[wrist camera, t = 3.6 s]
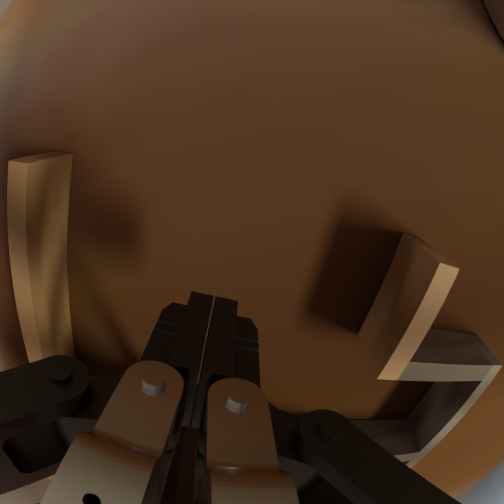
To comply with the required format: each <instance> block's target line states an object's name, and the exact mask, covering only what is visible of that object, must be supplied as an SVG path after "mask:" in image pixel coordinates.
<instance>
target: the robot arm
mask: <svg viewBox="0 0 504 504" xmlns="http://www.w3.org/2000/svg"><path fill="white" fill-rule="evenodd" d="M483 1H484V4H485V6H486V8H487V10H488V13H489V15H490V17H491V19H492V21H493V23H494V25H495V26H496V28H497V30H498V32H499V34H500V35H501V37H502V39H503V40H504V0H483ZM213 297H214V296H212V295H207V294H203V293H198V292H194V291H192V292H191V295H190V298H189V301H188V304H187V305H182V304H178V303H174V302H173V303H171V304H170V305H168V306H167V307H165V308H164V309H163V310H162V312H161V314H160V316H159V318H158V321H157V323H156V325H155V327H154V330H153V332H152V334H151V337H150V339H149V341H148V343H147V346H146V348H145V350H144V353H143V355H142V357H141V360H140V362H138V363H135V364H133V365H132V366H130V367H129V368H128V369H127V370H126V372H125V373H124V374H122V375H118V376H98V375H89V372H88V369H87V368H86V366H85V365H84V364H83V363H82V362H81V361H79V360H78V359H76V358H74V357H71V356H67V355H54V356H50V357H47V358H44V359H41V360H37V361H34V362H31V363H28V364H25V365H22V366H19V367H15V368H12V369H9V370H6V371H2V372H0V495H1V494H4V493H7V492H9V491H12V490H15V489H18V488H20V487H23V486H26V485H29V484H31V483H34V482H36V481H39V480H41V479H44V478H46V477H49V476H51V475H53V474H55V475H54V477H53V479H52V481H51V483H50V485H49V487H48V489H47V491H46V493H45V495H44V497H43V499H42V501H41V503H39V504H160V501H161V497H162V493H163V490H164V486H165V483H166V479H167V476H168V472H169V469H170V465H171V462H172V459H173V455H174V452H175V448H176V445H177V443H178V441H179V437H180V432H181V427H182V426H187V427H189V424H190V418H191V412H192V407H193V401H194V396H195V390H196V385H197V380H198V374H199V369H200V364H201V358H202V353H203V348H204V343H205V337H206V332H207V327H208V322H209V317H210V312H211V307H212V302H213ZM237 305H238V301H236V300H231V299H226V298H222V297H217V296H216V297H215V302H214V306H213V311H212V316H211V321H210V326H209V331H208V336H207V341H206V346H205V351H204V357H203V362H202V368H201V373H200V379H199V385H198V391H197V396H196V402H195V408H194V414H193V420H192V426H191V427H193V428H198V429H199V431H198V438H197V444H196V448H195V460H194V499H193V504H461V503H460V502H458V501H457V500H455V499H454V498H452V497H451V496H449V495H448V494H446V493H445V492H443V491H442V490H440V489H439V488H437V487H436V486H434V485H433V484H432V483H430V482H429V481H427V480H426V479H425V478H423V477H422V476H420V475H419V474H418V473H416V472H415V471H413V470H412V469H411V468H409V467H408V466H407V465H405V464H404V463H402V462H401V461H400V460H398V459H397V458H396V457H394V456H393V455H392V454H391V453H389V452H388V451H387V450H385V449H384V448H383V447H381V446H380V445H379V444H377V443H376V442H375V441H374V440H372V439H371V438H370V437H369V436H367V435H366V434H365V433H364V432H362V431H361V430H360V429H359V428H357V427H356V426H355V425H354V424H352V423H351V422H350V421H349V420H347V419H346V418H345V417H343V416H342V415H340V414H338V413H336V412H334V411H330V410H314V411H311V412H309V413H307V414H306V415H305V416H304V417H303V418H301V417H298V416H295V415H292V414H289V413H287V412H284V411H282V410H279V409H278V408H276V407H274V406H273V405H272V404H270V403H269V402H268V400H267V397H266V395H265V393H264V392H263V391H262V390H261V387H260V370H259V352H258V349H259V348H258V329H257V328H256V326H255V325H254V323H253V321H252V320H251V319H249V318H244V317H239V316H237Z"/></svg>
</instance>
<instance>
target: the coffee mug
mask: <svg viewBox="0 0 504 504" xmlns="http://www.w3.org/2000/svg"><path fill="white" fill-rule="evenodd" d="M197 391H198V384H197V385H196V390H195V396H194V401H193V407H192V412H191V418H190V424H189V427H187V426H182V427H181V432H180V437H179V441H178V443H177V445H176V448H175V452H174V455H173V459H172V462H171V465H170V469H169V472H168V476H167V479H166V483H165V486H164V490H163V493H162V497H161V501H160V504H193V499H194V460H195V448H196V444H197V438H198V431H199V429H198V428H193V427H191V426H192V420H193V414H194V408H195V402H196V396H197Z"/></svg>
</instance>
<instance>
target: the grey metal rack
mask: <svg viewBox="0 0 504 504" xmlns="http://www.w3.org/2000/svg"><path fill="white" fill-rule="evenodd" d="M73 155H74V153H68V152H61V151H51V152H45V153H40V154H36V155H31V156H26V157H22V158H17V159H13V160H9V162H8V181H7V224H8V243H9V255H10V265H11V274H12V281H13V288H14V295H15V301H16V306H17V312H18V317H19V322H20V326H21V331H22V335H23V339H24V343H25V347H26V351H27V355H28V359H29V362H30V363H31V362H34V361H37V360H41V359H44V358H47V357H50V356H54V355H67V356H71V357H74V358H76V357H75V351H74V343H73V335H72V327H71V317H70V305H69V290H68V264H67V234H68V208H69V193H70V181H71V171H72V163H73ZM458 271H459V268H458V267H457V266H455V265H454V264H453V263H452V262H450V261H449V260H448V259H447V258H445V257H444V256H443V255H441V254H440V253H439V252H438V251H436V250H435V249H434V248H432V247H431V246H430V245H428V244H427V243H426V242H424V241H423V240H422V239H419V238H416V237H413V236H410V235H407V234H404V233H403V235H402V237H401V240H400V242H399V245H398V247H397V250H396V252H395V255H394V257H393V260H392V262H391V265H390V267H389V269H388V272H387V274H386V276H385V278H384V281H383V283H382V285H381V287H380V290H379V292H378V294H377V296H376V298H375V300H374V303H373V305H372V307H371V309H370V311H369V313H368V315H367V317H366V319H365V321H364V323H363V325H362V327H361V329H360V331H359V333H358V337H359V339H360V341H361V344H362V346H363V348H364V350H365V352H366V355H367V357H368V359H369V361H370V364H371V366H372V368H373V371H374V373H375V375H376V378H377V379H385V380H404V381H435V382H434V384H433V385H432V386H431V388H430V389H429V390H428V392H427V393H426V394H425V396H424V397H423V398H422V400H421V401H420V402H419V403H418V405H417V406H416V407H415V408H414V410H413V411H412V412H411V413H410V414H409V416H408V417H407V418H406V419H392V420H352V419H347V420H349V421H350V422H351V423H352V424H354V425H355V426H356V427H357V428H359V429H360V430H361V431H362V432H364V433H365V434H366V435H367V436H369V437H370V438H371V439H372V440H374V441H375V442H376V443H377V444H379V445H380V446H381V447H383V448H384V449H385V450H387V451H388V452H389V453H391V454H392V455H393V456H394V457H396V458H397V459H398V460H400V461H401V462H402V463H404V464H405V465H407V466H408V467H409V468H412V467H413V466H414V465H415V464H416V463H418V462H419V461H420V460H421V459H422V458H423V457H424V456H425V455H426V454H427V453H428V452H429V451H430V450H431V449H433V448H434V447H435V446H436V445H437V444H438V443H439V442H440V441H441V440H442V439H443V438H444V437H445V435H446V434H447V433H448V432H449V431H450V430H451V429H452V428H453V427H454V426H455V425H456V424H457V423H458V421H459V420H460V419H461V418H462V417H463V416H464V415H465V414H466V412H467V411H468V410H469V409H470V408H471V406H472V405H473V404H474V403H475V402H476V400H477V399H478V398H479V397H480V395H481V394H482V393H483V392H484V390H485V389H486V388H487V386H488V385H489V384H490V382H491V381H492V380H493V378H494V377H495V375H496V374H497V373H498V371H499V370H500V368H501V367H502V364H501V363H500V362H499V360H498V359H497V358H496V357H495V356H494V354H493V353H492V352H491V351H490V349H489V348H488V347H487V346H486V345H485V344H484V342H483V341H482V340H481V339H480V338H479V337H478V335H476V334H469V333H462V332H455V331H448V330H442V329H435V328H430V327H431V325H432V323H433V321H434V319H435V318H436V316H437V314H438V312H439V310H440V308H441V306H442V304H443V302H444V300H445V298H446V296H447V294H448V292H449V290H450V288H451V286H452V284H453V282H454V280H455V278H456V276H457V273H458Z"/></svg>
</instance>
